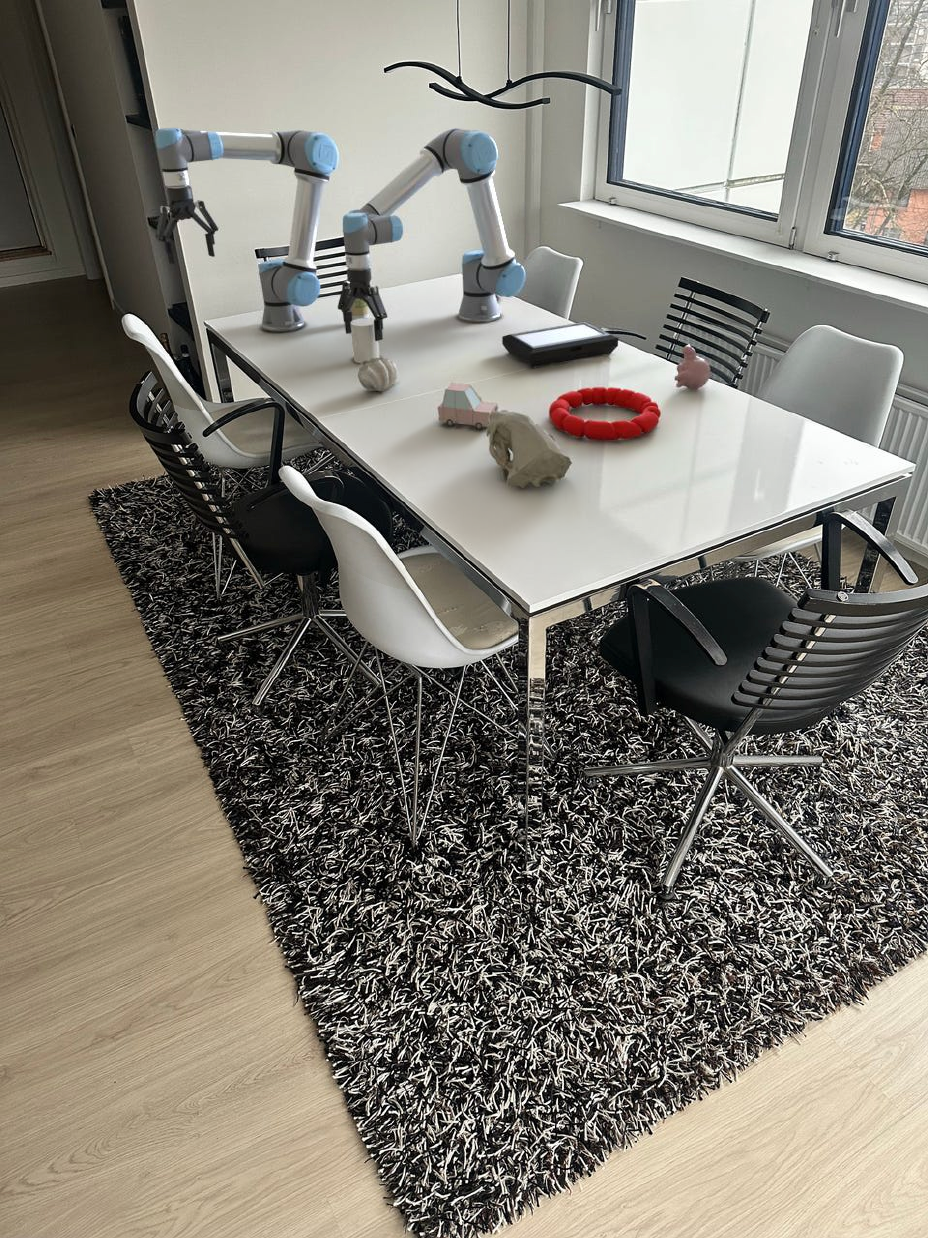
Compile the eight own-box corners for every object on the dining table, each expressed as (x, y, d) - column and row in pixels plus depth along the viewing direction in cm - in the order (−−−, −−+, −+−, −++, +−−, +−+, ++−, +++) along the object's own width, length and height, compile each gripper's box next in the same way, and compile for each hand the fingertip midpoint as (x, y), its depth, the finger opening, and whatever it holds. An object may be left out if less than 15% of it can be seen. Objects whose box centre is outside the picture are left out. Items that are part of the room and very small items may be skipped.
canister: (349, 361, 292) (345, 323, 285) (363, 353, 298) (359, 316, 291) (370, 364, 289) (367, 326, 282) (384, 357, 295) (381, 319, 288)
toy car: (488, 432, 240) (488, 396, 234) (436, 426, 244) (434, 390, 239) (499, 419, 247) (499, 384, 241) (448, 413, 252) (447, 379, 246)
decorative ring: (589, 435, 224) (684, 402, 234) (527, 398, 247) (617, 369, 256) (589, 461, 229) (683, 427, 238) (529, 422, 251) (617, 393, 260)
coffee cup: (372, 326, 323) (368, 283, 314) (345, 327, 323) (340, 284, 315) (374, 318, 331) (371, 276, 322) (348, 319, 331) (344, 277, 323)
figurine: (665, 387, 264) (669, 347, 257) (693, 380, 268) (698, 340, 261) (686, 396, 257) (690, 355, 250) (714, 388, 262) (720, 348, 255)
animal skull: (496, 517, 219) (521, 479, 201) (463, 429, 225) (484, 384, 207) (557, 503, 225) (586, 465, 206) (523, 417, 231) (549, 373, 212)
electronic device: (530, 350, 276) (502, 333, 291) (530, 370, 279) (502, 352, 294) (618, 335, 286) (586, 319, 301) (617, 354, 290) (585, 338, 305)
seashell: (350, 390, 269) (347, 357, 264) (395, 380, 275) (392, 348, 270) (364, 400, 262) (360, 367, 256) (409, 390, 268) (407, 357, 262)
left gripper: (144, 192, 261) (160, 268, 273) (221, 181, 274) (233, 254, 286) (134, 190, 266) (150, 264, 278) (209, 179, 279) (222, 251, 291)
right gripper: (322, 264, 281) (329, 332, 293) (378, 275, 268) (383, 346, 280) (339, 260, 286) (345, 326, 298) (395, 270, 273) (399, 340, 285)
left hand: (192, 259), depth 282 cm, fingers open, 13 cm apart
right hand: (364, 336), depth 289 cm, fingers open, 13 cm apart
